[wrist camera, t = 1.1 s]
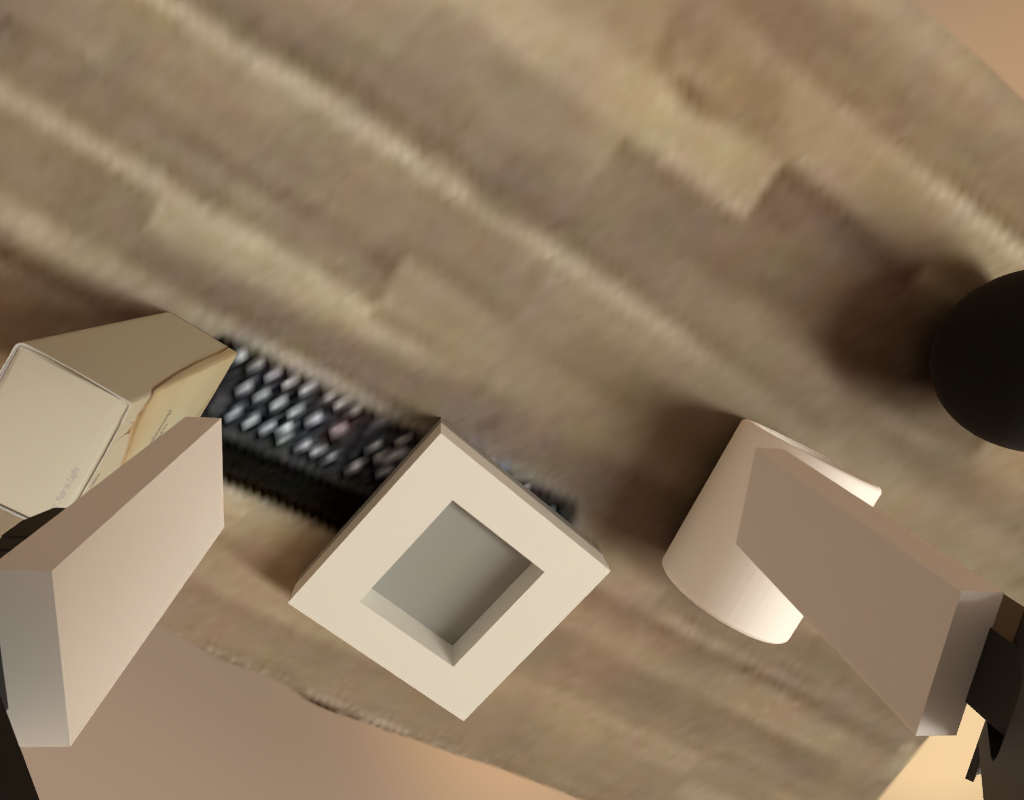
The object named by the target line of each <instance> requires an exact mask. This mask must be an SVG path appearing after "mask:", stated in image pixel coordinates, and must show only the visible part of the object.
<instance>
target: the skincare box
mask: <svg viewBox="0 0 1024 800" xmlns="http://www.w3.org/2000/svg"><path fill="white" fill-rule="evenodd" d="M236 355H237V353H236V352H235V351H234V350H232V349H230V348H229V347H227V346H226V345H224V344H222V343H221V342H219V341H218V340H216V339H214V338H213V337H211V336H209V335H208V334H206V333H204V332H202V331H201V330H199V329H197V328H196V327H194V326H192V325H191V324H189V323H187V322H185V321H184V320H182V319H180V318H179V317H177V316H175V315H173V314H172V313H169V312H164V313H160V314H155V315H150V316H145V317H140V318H135V319H130V320H126V321H121V322H117V323H112V324H106V325H102V326H97V327H92V328H87V329H83V330H78V331H73V332H68V333H64V334H59V335H54V336H49V337H44V338H40V339H35V340H30V341H25V342H20V343H17V344H16V345H15V346H14V347H13V349H12V351H11V353H10V354H9V356H8V358H7V360H6V362H5V363H4V365H3V367H2V368H1V370H0V508H1V509H3V510H5V511H7V512H9V513H11V514H13V515H15V516H17V517H20V518H22V519H24V520H25V519H27V518H30V517H32V516H34V515H37V514H39V513H42V512H44V511H47V510H49V509H52V508H67V507H68V506H70V505H71V504H72V503H74V502H75V501H76V500H77V499H79V498H80V497H81V496H83V495H84V494H85V493H87V492H88V491H89V490H91V489H92V488H93V487H94V486H96V485H97V484H98V483H100V482H101V481H102V480H104V479H105V478H106V477H107V476H109V475H110V474H111V473H113V472H114V471H115V470H117V469H118V468H119V467H121V466H122V465H123V464H124V463H126V462H127V461H128V460H130V459H131V458H132V457H134V456H135V455H136V454H138V453H139V452H140V451H141V450H143V449H144V448H145V447H147V446H148V445H149V444H151V443H152V442H153V441H154V440H156V439H157V438H158V437H160V436H161V435H162V434H164V433H165V432H166V431H168V430H169V429H170V428H171V427H173V426H174V425H175V424H177V423H178V422H179V421H181V420H182V419H183V418H184V417H186V416H187V417H200V416H201V414H202V413H203V411H204V409H205V408H206V406H207V404H208V403H209V401H210V400H211V398H212V396H213V395H214V393H215V391H216V389H217V388H218V386H219V384H220V383H221V381H222V379H223V378H224V376H225V374H226V372H227V371H228V369H229V367H230V366H231V364H232V362H233V360H234V359H235V357H236Z"/></svg>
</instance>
